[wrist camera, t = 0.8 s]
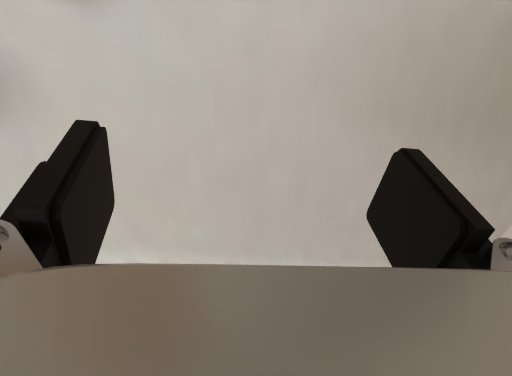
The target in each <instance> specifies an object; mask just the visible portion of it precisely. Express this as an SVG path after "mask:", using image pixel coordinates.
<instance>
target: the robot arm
mask: <svg viewBox="0 0 512 376" xmlns="http://www.w3.org/2000/svg"><path fill="white" fill-rule="evenodd" d="M113 209H114V190H113V182H112V173H111V164H110V156H109V147H108V139H107V131H106V128H105V127H100V125H99V123H98V122H96V121H85V120H76V121H75V122H74V123H73V125H72V126H71V128H70V129H69V130H68V132H67V133H66V135H65V136H64V138H63V139H62V141H61V142H60V143H59V145H58V146H57V148H56V149H55V151H54V152H53V154H52V155H51V156H50V158H49V159H48V161H47V162H46V161H44V162H41V163H40V164H39V165H38V166H37V167H36V168H35V170H34V171H33V173H32V174H31V175H30V177H29V178H28V180H27V181H26V182H25V184H24V185H23V186H22V188H21V189H20V191H19V192H18V193H17V195H16V196H15V198H14V199H13V200H12V202H11V203H10V205H9V206H8V207H7V209H6V210H5V212H4V213H3V214H2V216H1V217H0V376H512V239H508V238H498V239H496V240H494V242H493V243H491V242H490V240H489V239H488V238H489V237H490V236H491V234H492V233H493V232H494V230H495V229H494V228H493V227H492V226H491V225H490V224H489V223H488V221H487V220H486V219H485V218H484V217H483V216H482V215H481V214H480V213H479V212H478V211H477V210H476V209H475V208H474V207H473V206H472V205H471V203H470V202H469V201H468V200H467V199H466V198H465V197H464V196H463V195H462V194H461V193H460V192H459V191H458V190H457V189H456V188H455V186H454V185H453V184H452V183H451V182H450V181H449V180H448V179H447V178H446V177H445V176H444V175H443V174H442V173H441V172H440V171H439V170H438V168H437V167H436V166H435V165H434V164H433V163H432V162H431V161H430V160H429V159H428V158H427V157H426V156H425V155H424V154H423V153H422V152H421V151H420V150H419V149H409V148H401V149H400V150H399V151H398V152H395V153H394V154H393V156H392V158H391V160H390V162H389V164H388V166H387V169H386V171H385V173H384V175H383V177H382V180H381V182H380V184H379V186H378V188H377V191H376V193H375V195H374V197H373V199H372V201H371V204H370V206H369V208H368V210H367V220H368V223H369V224H370V226H371V228H372V230H373V232H374V234H375V236H376V237H377V239H378V241H379V243H380V245H381V247H382V249H383V250H384V252H385V254H386V256H387V258H388V260H389V262H390V263H391V265H392V267H341V266H285V265H225V264H146V263H130V264H95V262H96V259H97V256H98V253H99V250H100V247H101V244H102V242H103V239H104V236H105V233H106V230H107V227H108V224H109V221H110V218H111V215H112V212H113Z"/></svg>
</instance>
